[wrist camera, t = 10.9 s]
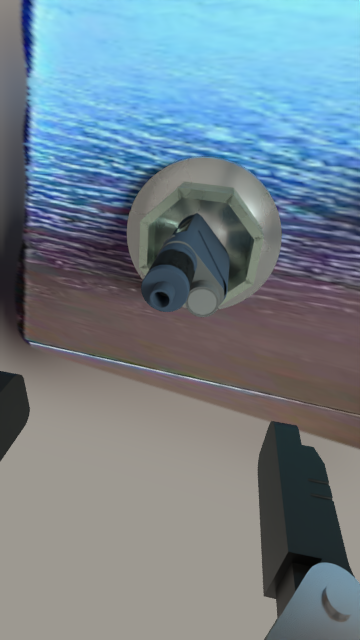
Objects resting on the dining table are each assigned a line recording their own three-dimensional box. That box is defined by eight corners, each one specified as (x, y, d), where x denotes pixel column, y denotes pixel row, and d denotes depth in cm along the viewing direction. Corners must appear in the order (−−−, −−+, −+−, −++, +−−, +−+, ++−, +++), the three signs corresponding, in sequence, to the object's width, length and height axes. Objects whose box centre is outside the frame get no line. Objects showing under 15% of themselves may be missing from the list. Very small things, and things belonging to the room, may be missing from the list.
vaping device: (195, 204, 25) (164, 263, 15) (235, 259, 26) (233, 347, 16) (169, 225, 26) (122, 293, 16) (209, 277, 28) (191, 369, 17)
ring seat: (131, 147, 25) (116, 151, 21) (298, 166, 24) (307, 173, 20) (130, 293, 31) (117, 313, 28) (261, 313, 30) (264, 336, 27)
